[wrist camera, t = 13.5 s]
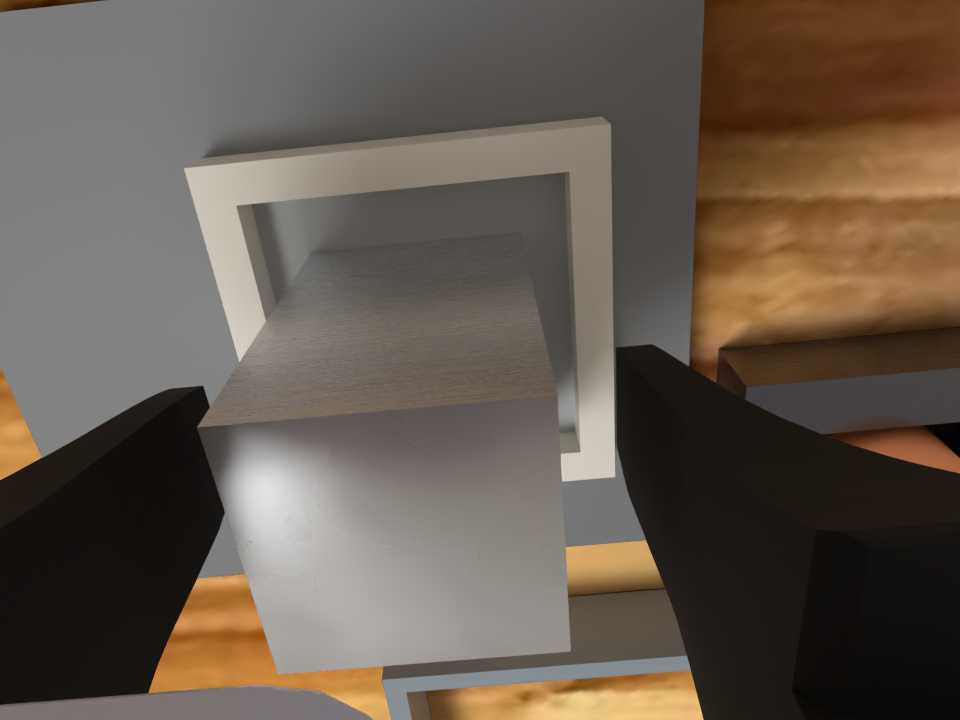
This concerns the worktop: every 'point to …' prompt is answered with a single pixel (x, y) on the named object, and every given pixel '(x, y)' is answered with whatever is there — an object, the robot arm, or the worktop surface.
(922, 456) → the button
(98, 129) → the board
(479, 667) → the tote
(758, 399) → the button collar
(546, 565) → the block
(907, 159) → the worktop surface
